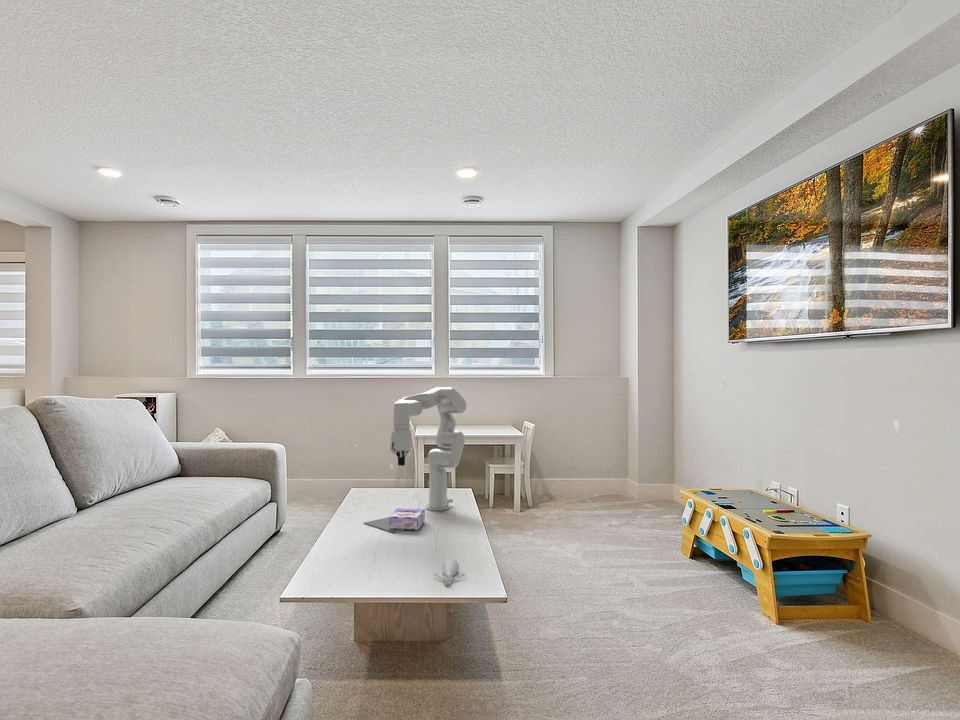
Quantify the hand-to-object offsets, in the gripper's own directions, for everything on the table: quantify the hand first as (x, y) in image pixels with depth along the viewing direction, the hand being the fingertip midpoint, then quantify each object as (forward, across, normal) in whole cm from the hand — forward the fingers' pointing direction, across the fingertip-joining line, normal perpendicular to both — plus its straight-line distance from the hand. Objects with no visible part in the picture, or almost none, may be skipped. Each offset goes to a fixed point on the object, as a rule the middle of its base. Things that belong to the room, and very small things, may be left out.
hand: (401, 465), depth 285 cm
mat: (+27, +6, +1) cm, 28 cm away
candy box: (+24, -4, +3) cm, 25 cm away
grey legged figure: (+27, +36, +70) cm, 83 cm away
